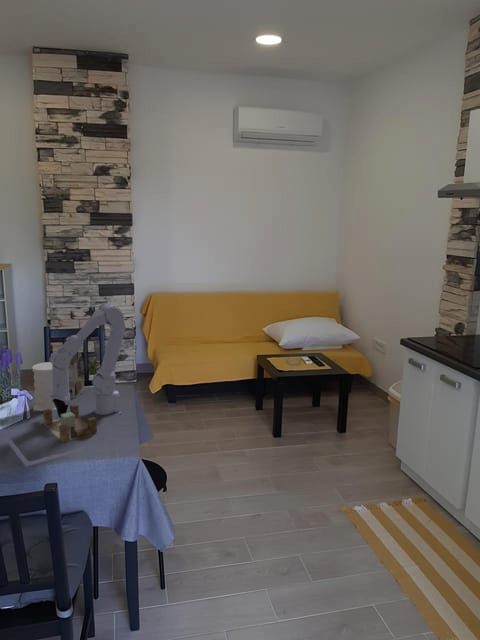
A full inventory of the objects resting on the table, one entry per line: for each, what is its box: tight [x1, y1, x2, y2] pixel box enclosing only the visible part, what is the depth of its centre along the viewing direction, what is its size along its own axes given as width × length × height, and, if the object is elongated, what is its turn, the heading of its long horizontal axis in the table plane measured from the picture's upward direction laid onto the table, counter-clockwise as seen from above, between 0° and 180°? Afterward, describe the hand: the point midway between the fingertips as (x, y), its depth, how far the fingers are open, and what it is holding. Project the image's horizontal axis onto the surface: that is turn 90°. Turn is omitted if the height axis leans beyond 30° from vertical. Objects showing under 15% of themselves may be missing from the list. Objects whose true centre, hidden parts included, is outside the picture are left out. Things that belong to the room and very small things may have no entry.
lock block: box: [60, 411, 75, 427], centre depth 184 cm, size 4×4×4 cm
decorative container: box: [31, 361, 57, 412], centre depth 200 cm, size 12×12×18 cm
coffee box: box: [68, 356, 85, 399], centre depth 217 cm, size 9×6×16 cm
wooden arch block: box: [75, 416, 98, 437], centre depth 176 cm, size 7×2×5 cm, turn 129°
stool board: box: [42, 403, 98, 443], centre depth 181 cm, size 13×20×6 cm, turn 39°
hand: (62, 417), depth 189 cm, fingers closed
